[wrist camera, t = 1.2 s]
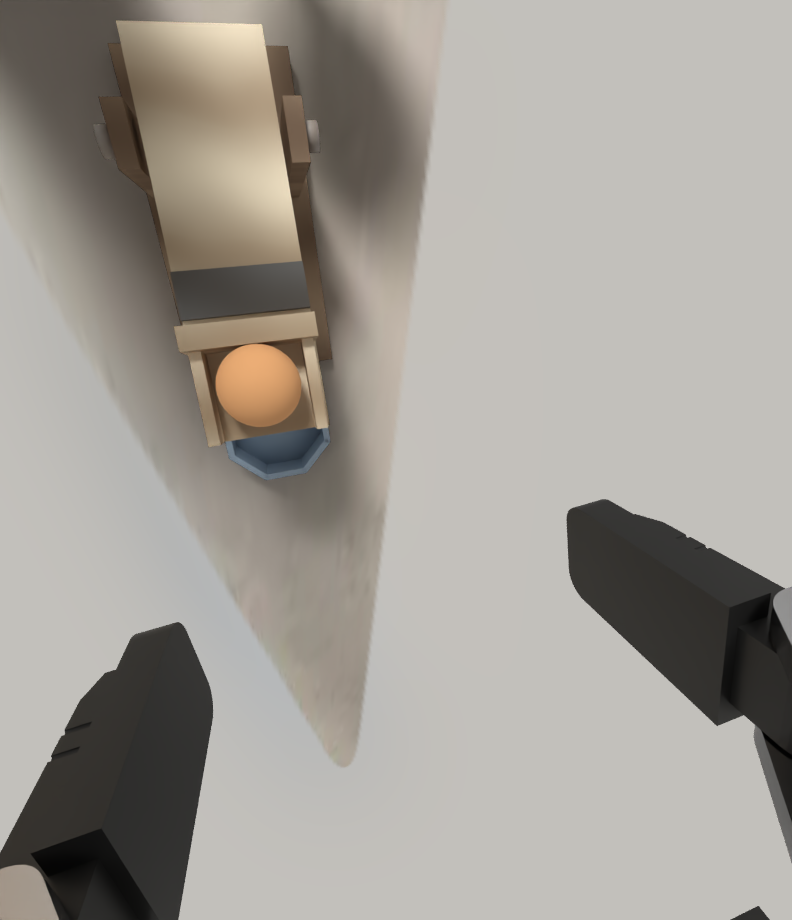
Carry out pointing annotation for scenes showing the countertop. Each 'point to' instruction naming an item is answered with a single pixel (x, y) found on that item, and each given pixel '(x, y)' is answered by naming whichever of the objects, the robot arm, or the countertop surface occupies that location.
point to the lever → (223, 206)
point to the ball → (258, 385)
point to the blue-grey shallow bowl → (279, 452)
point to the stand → (298, 142)
